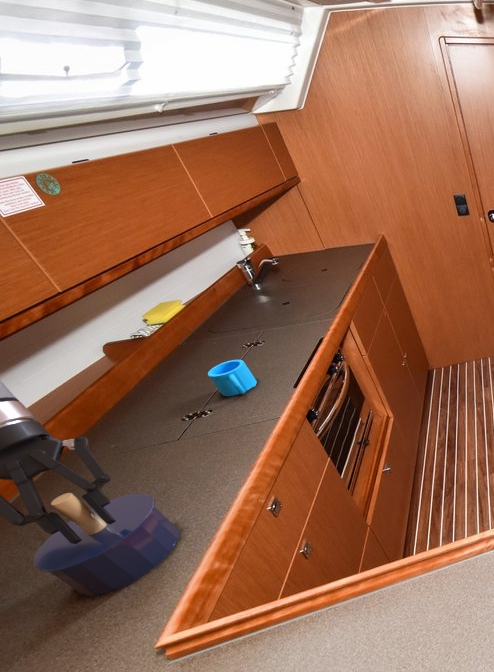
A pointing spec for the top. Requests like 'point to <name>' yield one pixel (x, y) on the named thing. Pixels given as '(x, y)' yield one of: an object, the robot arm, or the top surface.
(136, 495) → the lid
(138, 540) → the pot
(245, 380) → the mug
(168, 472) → the top surface
